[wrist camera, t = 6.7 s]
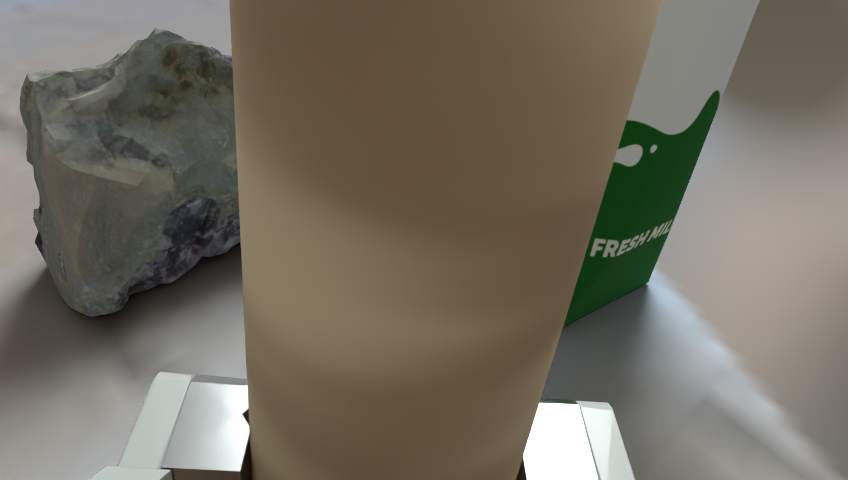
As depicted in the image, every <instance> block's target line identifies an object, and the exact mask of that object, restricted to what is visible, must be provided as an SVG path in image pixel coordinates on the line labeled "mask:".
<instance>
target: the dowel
mask: <svg viewBox="0 0 848 480" xmlns="http://www.w3.org/2000/svg"><path fill="white" fill-rule="evenodd" d="M662 3H663V0H230V22H231V43H232V65H233V86H234V108H235V129H236V151H237V172H238V194H239V215H240V237H241V258H242V280H243V301H244V323H245V344H246V366H247V388H248V409H249V431H250V452H251V474H252V480H516V478H517V475H518V472H519V468H520V465H521V462H522V458H523V455H524V452H525V449H526V445H527V442H528V439H529V436H530V432H531V429H532V426H533V423H534V419H535V416H536V413H537V410H538V406H539V403H540V400H541V397H542V393H543V390H544V387H545V384H546V380H547V377H548V374H549V371H550V367H551V364H552V361H553V358H554V354H555V351H556V348H557V345H558V341H559V338H560V335H561V332H562V328H563V325H564V322H565V319H566V315H567V312H568V309H569V306H570V302H571V299H572V296H573V293H574V289H575V286H576V283H577V280H578V276H579V273H580V270H581V267H582V263H583V260H584V257H585V254H586V250H587V247H588V244H589V241H590V237H591V234H592V231H593V228H594V224H595V221H596V218H597V215H598V211H599V208H600V205H601V202H602V198H603V195H604V192H605V189H606V185H607V182H608V179H609V176H610V172H611V169H612V166H613V163H614V159H615V156H616V153H617V149H618V146H619V143H620V140H621V136H622V133H623V130H624V127H625V123H626V120H627V117H628V114H629V110H630V107H631V104H632V101H633V97H634V94H635V91H636V88H637V84H638V81H639V78H640V75H641V71H642V68H643V65H644V62H645V58H646V55H647V52H648V49H649V45H650V42H651V39H652V36H653V32H654V29H655V26H656V23H657V19H658V16H659V13H660V10H661V6H662Z"/></svg>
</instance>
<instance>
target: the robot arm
mask: <svg viewBox="0 0 848 480" xmlns="http://www.w3.org/2000/svg"><path fill="white" fill-rule="evenodd" d="M89 480H252V474H251V452H250V431H249V409H248V388H247V379H238V378H228V377H217V376H206V375H190V374H179V373H167V372H159V373H158V375H157V376H156V377H155V378H154V379H153V381H152V383H151V385H150V388H149V390H148V393H147V395H146V397H145V400H144V402H143V405H142V407H141V410H140V412H139V414H138V417H137V419H136V422H135V424H134V426H133V429H132V431H131V434H130V436H129V439H128V441H127V443H126V446H125V448H124V451H123V453H122V456H121V458H120V460H119V463H118V465H117V466H105V467H104V468H103V469H102V470H100V471H99V472H98V473H96V474H95V475H94V476H93V477H91V478H90V479H89ZM516 480H635V477H634V474H633V471H632V468H631V464H630V461H629V458H628V455H627V452H626V449H625V446H624V442H623V439H622V436H621V433H620V430H619V427H618V424H617V420H616V417H615V414H614V411H613V408H612V407H611V406H610V405H609V403H604V402H589V401H573V400H560V399H542V398H541V400H540V403H539V406H538V410H537V413H536V416H535V419H534V423H533V426H532V429H531V432H530V436H529V439H528V442H527V445H526V449H525V452H524V455H523V458H522V462H521V465H520V468H519V472H518V475H517V478H516Z"/></svg>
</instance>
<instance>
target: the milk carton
mask: <svg viewBox="0 0 848 480" xmlns="http://www.w3.org/2000/svg"><path fill="white" fill-rule="evenodd" d="M759 1H760V0H663V3H662V6H661V10H660V13H659V16H658V19H657V23H656V26H655V29H654V32H653V36H652V39H651V42H650V45H649V49H648V52H647V55H646V58H645V62H644V65H643V68H642V71H641V75H640V78H639V81H638V84H637V88H636V91H635V94H634V97H633V101H632V104H631V107H630V110H629V114H628V117H627V120H626V123H625V127H624V130H623V133H622V136H621V140H620V143H619V146H618V149H617V153H616V156H615V159H614V163H613V166H612V169H611V172H610V176H609V179H608V182H607V185H606V189H605V192H604V195H603V198H602V202H601V205H600V208H599V211H598V215H597V218H596V221H595V224H594V228H593V231H592V234H591V237H590V241H589V244H588V247H587V250H586V254H585V257H584V260H583V263H582V267H581V270H580V273H579V276H578V280H577V283H576V286H575V289H574V293H573V296H572V299H571V302H570V306H569V309H568V312H567V315H566V319H565V322H564V325H563V327H564V326H566V325H568V324H570V323H572V322H574V321H576V320H578V319H579V318H581V317H583V316H585V315H587V314H589V313H591V312H593V311H595V310H596V309H598V308H600V307H602V306H604V305H606V304H608V303H610V302H612V301H614V300H615V299H617V298H619V297H621V296H623V295H625V294H627V293H629V292H631V291H632V290H634V289H636V288H638V287H640V286H642V285H644V284H646V283H648V282H649V279H650V276H651V274H652V271H653V269H654V267H655V264H656V262H657V260H658V257H659V255H660V253H661V250H662V247H663V245H664V243H665V241H666V238H667V236H668V234H669V231H670V229H671V226H672V224H673V221H674V219H675V216H676V214H677V211H678V209H679V206H680V203H681V201H682V198H683V196H684V193H685V191H686V188H687V185H688V183H689V180H690V178H691V175H692V173H693V170H694V167H695V165H696V162H697V160H698V157H699V155H700V152H701V149H702V147H703V144H704V141H705V139H706V136H707V134H708V131H709V129H710V126H711V124H712V121H713V118H714V116H715V113H716V111H717V108H718V105H719V103H720V100H721V98H722V95H723V93H724V90H725V87H726V85H727V82H728V80H729V77H730V75H731V72H732V69H733V67H734V64H735V62H736V59H737V57H738V54H739V52H740V49H741V46H742V44H743V41H744V38H745V36H746V34H747V31H748V28H749V26H750V23H751V21H752V18H753V16H754V13H755V10H756V8H757V5H758V3H759Z"/></svg>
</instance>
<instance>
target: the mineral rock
mask: <svg viewBox="0 0 848 480" xmlns="http://www.w3.org/2000/svg"><path fill="white" fill-rule="evenodd" d="M20 112H21V115H22V119H23V122H24V125H25V127H26V128H27V153H26V155H27V161H28V162H29V163H30V164H32V165H33V168H34V178H35V181H36V184H37V188H38V191H39V195H40V206H39V209H34V217H33V219H34V222H35V225H36V227H37V229H38V234H37V237H36V240H35V243H36V245H37V247H38V249H39V251H40V252H41V254H42V256H43V258H44V260H45V261H46V263H47V265H48V267H49V270H50V272H51V275H52V278H53V280H54V283H55V285H56V288H57V291H58V293H59V295H60V296H61V297H62V299H63V300H64V301H65V303H66V304H67V305H68V306H69V307H71V308H72V309H74V310H75V311H78V312H80V313H82V314H84V315H87V316H93V317H94V316H98V315H104V314H110V313H113V312H116V311H119V310H120V309H122V308H123V307H125V303H126V302H127V301H128V298H129V295H131V294H132V293H134V292H142V291H145V290H148V289H150V288H152V287H154V286H156V285H158V284H159V283H171V282H173V281H175V280H176V279H178V278H180V277H181V275H182V274H184V273H185V272H187V271H188V270H189V269H191V268H192V267H194V266H195V265H196V264H197V263H198V261H199V260H200V259H201V257H212V256H217V255H220V254H222V253H225V252H227V251H228V250H229V249H230V248H231V247H233V246H234V245H236V244H237V243H239V242H240V241H241V237H240V215H239V194H238V172H237V151H236V129H235V108H234V86H233V65H232V56H228V55H222V54H221V53H220V52H219V51H218V50H216V49H214V48H212V47H207V46H205V45H204V44H202V43H197V42H192V41H188V40H186V39H184V38H183V37H181V36H179V35H177V34H174V33H172V32H170V31H167V30H162V29H157V28H155V29H154V30H153V32H152V33H151V34H150V35H149V37H148V38H147V39H145V40H137V41H136V42H135V43H134V44H133V45H132V46H131V47H130V49H129V50H128V51H127V52H126V53H120V54H117V55H116V56H115V57H114V58H113V59H111V60H110V61H108V62H107V63H105V64H102V65H99V66H96V67H86V68H78V69H73V70H71V71H67V70H45V71H40V72H35V73H31V74H27V76H26V78H25V81H24V83H23V86H22V89H21V96H20Z"/></svg>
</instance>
